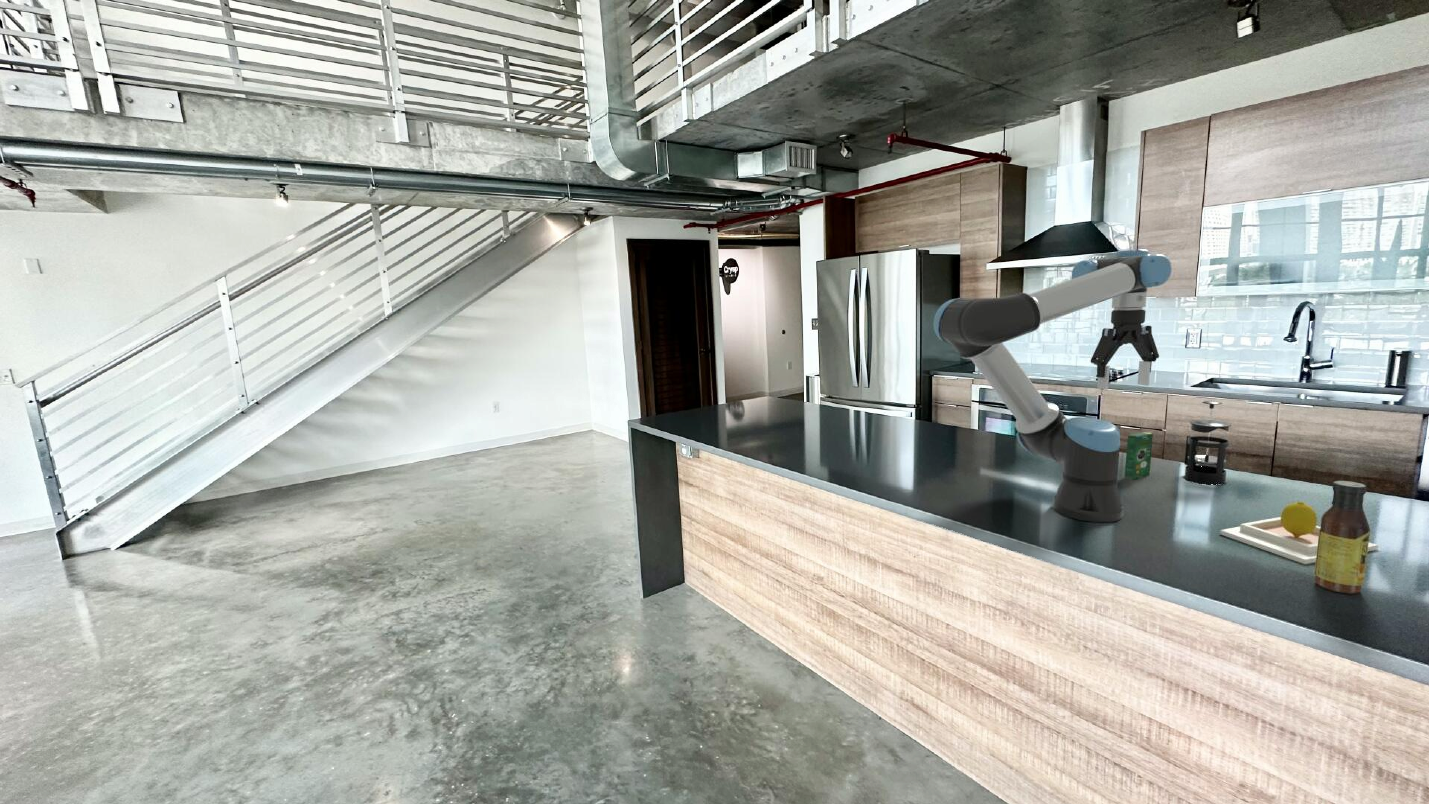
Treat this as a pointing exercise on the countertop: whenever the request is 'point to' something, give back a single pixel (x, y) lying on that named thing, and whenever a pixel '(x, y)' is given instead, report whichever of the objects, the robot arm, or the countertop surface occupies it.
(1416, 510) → the countertop surface
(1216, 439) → the french press
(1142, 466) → the coffee box
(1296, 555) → the tray
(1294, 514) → the lemon
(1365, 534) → the sauce bottle
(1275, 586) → the countertop surface
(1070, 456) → the robot arm
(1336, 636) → the countertop surface
